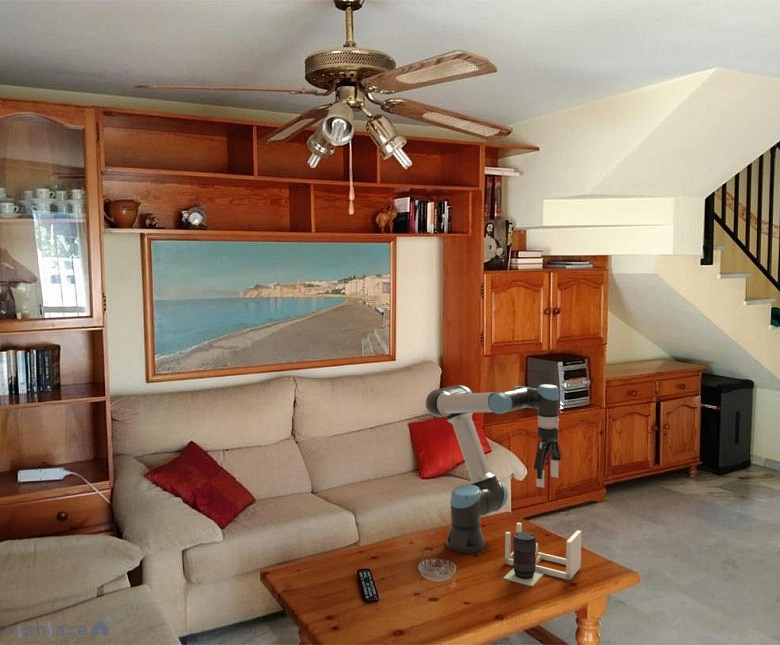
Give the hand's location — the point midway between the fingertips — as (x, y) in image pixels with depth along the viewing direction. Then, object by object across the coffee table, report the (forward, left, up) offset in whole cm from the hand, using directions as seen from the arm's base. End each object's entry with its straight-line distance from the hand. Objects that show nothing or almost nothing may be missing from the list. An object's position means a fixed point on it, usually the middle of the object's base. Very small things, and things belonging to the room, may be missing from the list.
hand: (547, 481), depth 263 cm
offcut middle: (-6, -5, -29) cm, 30 cm away
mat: (-2, -17, -31) cm, 35 cm away
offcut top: (-5, -5, -27) cm, 28 cm away
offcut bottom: (-6, -5, -31) cm, 32 cm away
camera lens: (-2, -17, -30) cm, 35 cm away
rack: (+1, -5, -31) cm, 31 cm away
